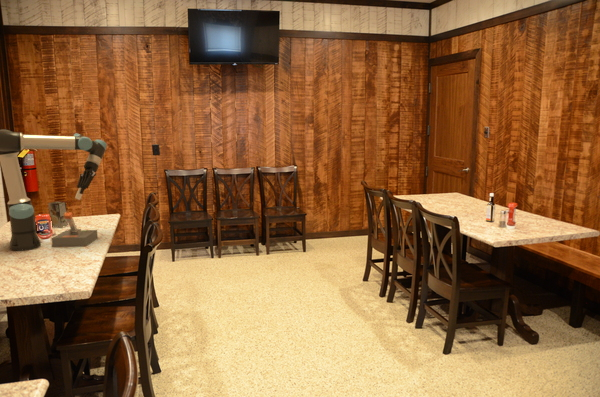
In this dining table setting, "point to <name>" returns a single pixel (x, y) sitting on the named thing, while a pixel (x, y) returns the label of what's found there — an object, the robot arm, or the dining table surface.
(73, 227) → the lever
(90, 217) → the dining table surface
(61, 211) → the coffee box
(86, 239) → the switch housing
